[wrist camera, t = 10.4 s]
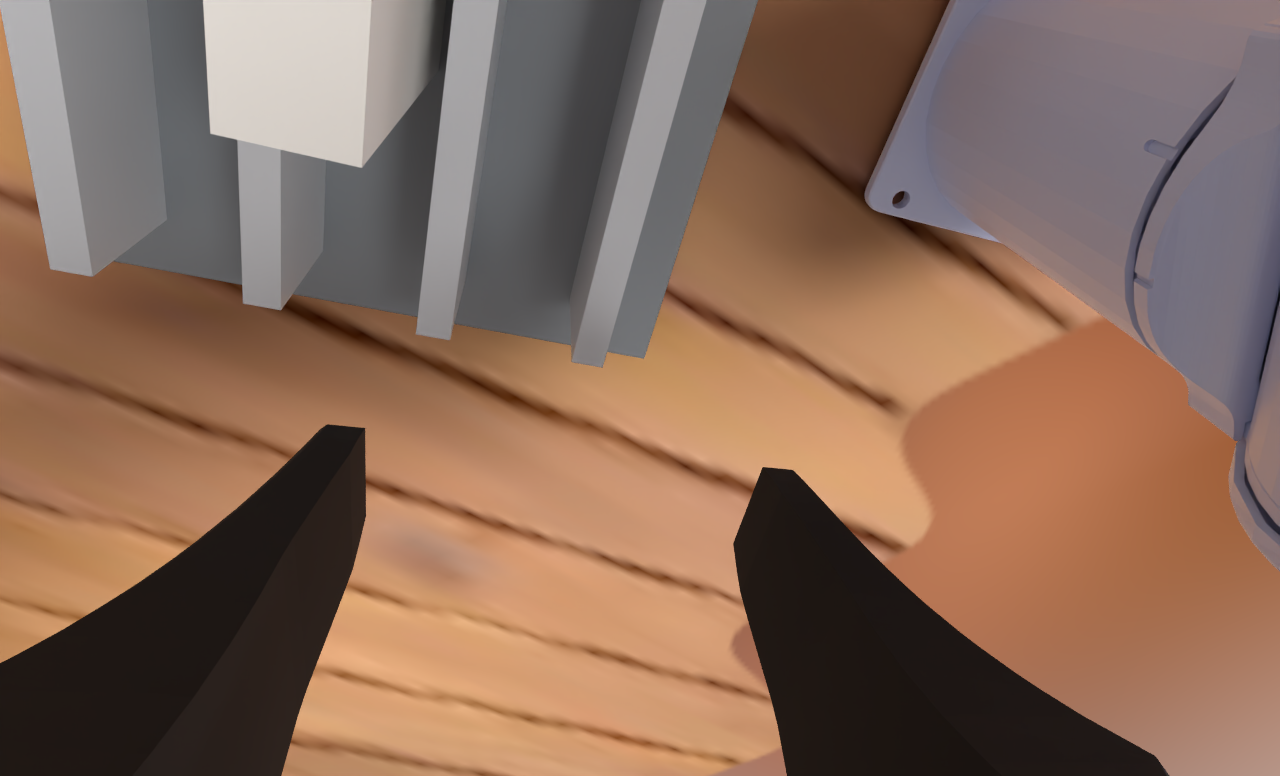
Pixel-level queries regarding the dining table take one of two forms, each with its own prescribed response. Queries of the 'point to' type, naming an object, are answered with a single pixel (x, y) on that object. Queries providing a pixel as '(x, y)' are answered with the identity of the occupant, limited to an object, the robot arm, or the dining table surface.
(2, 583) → the dining table surface
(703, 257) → the dining table surface
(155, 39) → the dish rack
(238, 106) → the cream plate
